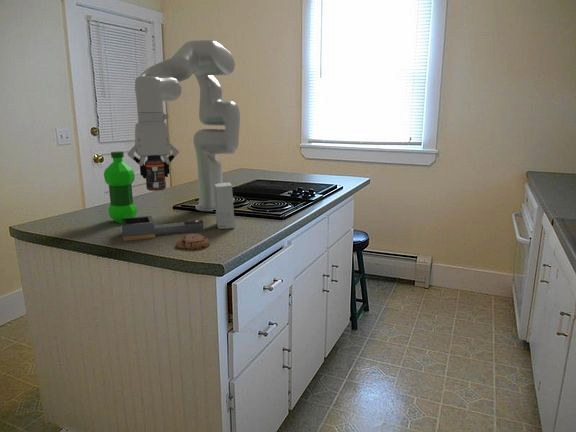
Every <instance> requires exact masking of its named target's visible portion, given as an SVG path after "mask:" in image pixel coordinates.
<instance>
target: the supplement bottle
mask: <svg viewBox="0 0 576 432" xmlns="http://www.w3.org/2000/svg"><path fill="white" fill-rule="evenodd" d="M146 157H147V159H146V160H145V161H144V165H145V169H146V178H145V183H146V190H148V191H151V192H152V191H153V192H159V191H163V190H165V189H166V187H167V186H166V185H167V182H166V177H165V166H164V159H163V158H161V157H162V156H158V155H152V156H146Z"/></svg>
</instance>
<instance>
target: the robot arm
mask: <svg viewBox="0 0 576 432" xmlns="http://www.w3.org/2000/svg"><path fill="white" fill-rule="evenodd" d="M235 65H236V64H235V58H234V56H233V54H232V52H230V51H229V50H228V49H227V48H225V47H224V46H223V45H222V44H221V43H219V42H218V41H216V40H212V39H201V40H200V39H199V40H197V39H196V40H190V41H187V42H185V43H184V44H183V45H182V46H180V48H178V50H177V51H176V52H175V53H174V54H173V55H172V56H171V57H170V58H168V59H165V60H162V61H160V62H158V63H155V64H154V65H152V66H150V67H148V68H147V69H145V70H144V71H143V72H142V73H141V74H140V75H139V76H137V77H136V78H135V80H134V92H135V97H136V98H135V99H136V109H137V110H136V111H137V121H138V122H137V123H135V126H134V128H135V129H134V141H135V142H134V143H135V144H134V145H133V147H131V149H130V150H129V151H128V152H127V157H129V158H130V159H132V160H133V161H134V162H135V163H136V164H138V165H139V171H140V173H139V174H140V176H142V178H143V179H144V180H146V169H145V161H146V157H147V156H152V155H158V156H161V157H162V160H163V161H164V166H165V178H168V177H169V176H168V175H169V174H170V164H171V162H172V161H173V160H174V159H175V157H176V156H177V155H178V154H180V151H179V150H178V149H177V148H176V147H175V146H174V145H172V143H171V142H170V141H171V140H170V133H169V129H168V125H167V122H165V120H168V119H169V114H168V113H167V114H166V113H165V112H164V104H163V103H164V102H174V101H176V100H178V98H180V96H181V94H182V85H181V83H180V82H184V81H187V80H188V79H190V77H192V75H193V74H194V76H195V78H196V79H195V80H197V83H198V86H199V104H198V105H199V106H198V107H199V109H198V110H199V111H198V116H199V117H198V118H199V121H200V123H201V124H203V125H204V126H209V127H211V126H213V127H224V129H223V128H222V129H221V128H219V129H218V128H203V129H199V130H197V131H196V132H195V133H194V135H193V145H194V150H195V154H196V164H197V182H198V183H197V184H198V185H197V186H198V200H199V201H198V202H199V203H198V204H196V205H195V210H196V211H200V212H214V211H213V210H216V209H215V191H214V184H216V183H223V165H222V162H221V159H220V158H219V156H218V155H233V154H235V153H237V151H238V149H239V141H240V140H239V139H240V127H241V126H240V123H241V111H240V108H239V105H238V104H237V103H236V102H234V101H232V100H223V88H222V86H221V84H220V82H219V81H218V79H217V78H216V76H230V75H231V74H232V73H233V72H234V71H235ZM171 151H172V153H171ZM134 153H136V154H137V156H139V157H137V156H136V155H135V154H134ZM233 203H236V199H235V197H233Z"/></svg>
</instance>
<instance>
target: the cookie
mask: <svg viewBox="0 0 576 432" xmlns="http://www.w3.org/2000/svg"><path fill="white" fill-rule="evenodd" d="M175 245H176V247H177V249H180V250H181V249H182V250H187V251H188V250H190V251H195V250H196V249H197V250H203V249H202V248H204V249H206V248H208V247H209V246H210V240H209V237H207V236H205V235H202V234H201V233H190V234H186V235H181V236H179V238H178V239H177V241H176V244H175Z"/></svg>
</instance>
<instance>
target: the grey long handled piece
mask: <svg viewBox="0 0 576 432" xmlns="http://www.w3.org/2000/svg"><path fill="white" fill-rule="evenodd" d="M121 222H122V223H121V230H122V231H121V232H122V239H123V240H122V242H125V241H128V242H129V241H135V240H146V239H155V238H156V236H159V235H160V236H162V235H172V234H180V233H181V234H182V233H192V232H200V231H201V232H202V231H204V220H203V219H195V220H194V219H193V220H185V221H182V222H174V223H173V222H172V223H163V224H155V222H154V219H153V217H152V215H147V216H146V215H145V216H135V217H131V218H121Z"/></svg>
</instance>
